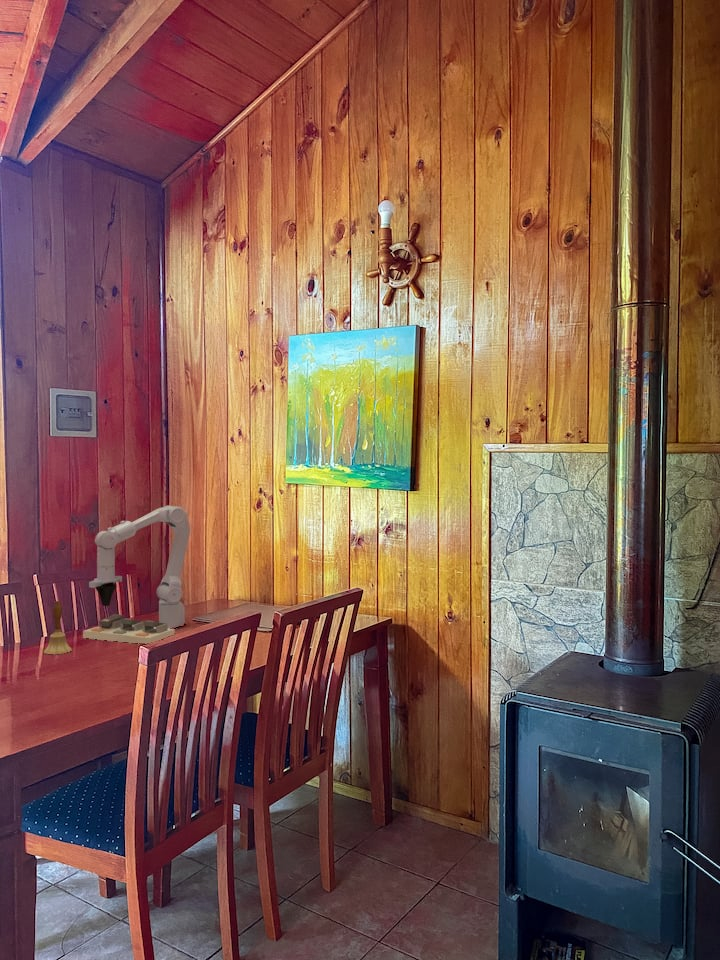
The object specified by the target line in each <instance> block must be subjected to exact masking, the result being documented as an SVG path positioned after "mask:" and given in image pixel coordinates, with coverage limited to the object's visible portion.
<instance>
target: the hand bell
mask: <svg viewBox="0 0 720 960" xmlns="http://www.w3.org/2000/svg"><path fill="white" fill-rule="evenodd" d="M62 610H63V609H62V605H61V602H60V601H59V600H55V601H54V605H53V607H52V615H53V616H52V617H53V619H54V632H53V633H52V634H50V636H49V641H48V645H47V646H46V647H45V649H43V654H45V655H48V654H53V655H52V656H57V655H56V654H60V655H64V653H65V654H68V653H67V652H69V653H71V652H72V651H73V649H72V647H71V646H70V645H69V643H68V642H67V638H66V633H65V632H62V630H61V629H62V628H61V618H62V613H63V611H62ZM70 651H71V652H70Z"/></svg>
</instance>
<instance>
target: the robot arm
mask: <svg viewBox="0 0 720 960" xmlns="http://www.w3.org/2000/svg"><path fill="white" fill-rule="evenodd" d="M188 515H189V514H188V513H187V511H185V509H184V508H183V507H182V506H174V505H169V504H167V505H165V506H163V507H158V508H156V509H154V510H152V511H151V512H149V513H147V514H145V515H143V516H142V517H140V518H137V519H136V520H134V521H129V520H121V521H120V522H119V524H117V525H115V526H113V527H108V528H107V530H102V531H99V532H98V533H97V535H95V539H94V543H95V545H96V546H97V548H96V549H97V550H96V551H97V553H96V556H97V557H96V560H97V561H96V573H97V574H96V578H94V580H91V581H89V582H88V588H91V589H95V590H96V592H97V593H98V595H99V598H100V602H101V605H102V606H103V607H108V606H110V604H111V601H112V598H113V597H112V596H113V594H114V592H115V590H116V588H117V584H116V583H123V576H122V575H116V570H115V569H116V567H115V564H116V563H115V562H116V557H115V555H116V553H115V550H116V549H115V547H116V546H117V544H120V543H122V542H123V541H126V540H127V539H128V540H129V538H131V537H134V536H135V535H136V533H137V531H138V530H141V529H143V528H145V527H147V526H150V525H152V524H154V523H157V522H160V523H161V522H162V523H163V522H164V523H165V524H167V525H168V526H169V527H170V528H171V530H172V531H173V532H174V534H173V540H172V544H171V547H170V553H169V557H168V561H167V567H166V571H165V575H164V576H163V577H162V579H161V582H160V584H159V585H158V587H157V588H156V596H157V598H159V601H158V622H159V623H166V624H168V628H169V629H170V628H172V627H177V626H179V625H180V624H183V623H186V621H185V620H186V619H185V615H186V614H185V611H186V608H185V605H184V603H183V602H182V601H180V600H181V599H182V596H183V590H182V586H183V583H182V580H181V575H182V572H183V571H182V570H183V565H184V561H185V558H186V552H187V549H188V544H189V540H190V539H189V538H190V535H191V526H190V523H189V519H188Z"/></svg>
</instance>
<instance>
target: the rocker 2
mask: <svg viewBox="0 0 720 960" xmlns="http://www.w3.org/2000/svg"><path fill="white" fill-rule="evenodd" d="M142 621H143V626H150V627H157V626H160V625H163V624H166V623H159V621H154V620H142Z"/></svg>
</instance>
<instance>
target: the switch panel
mask: <svg viewBox="0 0 720 960" xmlns="http://www.w3.org/2000/svg"><path fill="white" fill-rule="evenodd" d="M174 633H175V634H176V629H169V628H168V624H163V625H160V626H157V627H150V626H143V622H140V623H137V624H134V625H130V624H122V623H121V620H118V621H115V622H112V625H111V626H109V627H108V626H99V625H98V626H95V627H91V628H88V629H84V630H82V638H83V639H86V638H89V639H88V640H95V639H97V640H98V641H104V640H107V641H106V642H113V641H118V642H117V643H122V642H129V643H128V644H131V643H138V644H137V645H140V644H139V643H145V644H147V643H151V642H155V641H158V640H161V639H163V638H166V637H168V636H171V635H174ZM97 640H96V641H97Z"/></svg>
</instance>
